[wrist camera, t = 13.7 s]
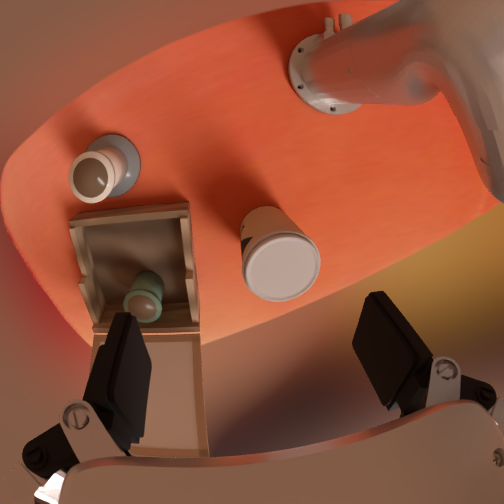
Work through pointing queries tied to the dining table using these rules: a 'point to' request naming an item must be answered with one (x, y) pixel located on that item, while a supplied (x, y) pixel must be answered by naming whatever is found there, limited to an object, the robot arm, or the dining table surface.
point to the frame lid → (172, 397)
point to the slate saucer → (132, 158)
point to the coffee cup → (276, 255)
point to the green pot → (145, 297)
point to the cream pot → (97, 173)
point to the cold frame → (138, 262)
